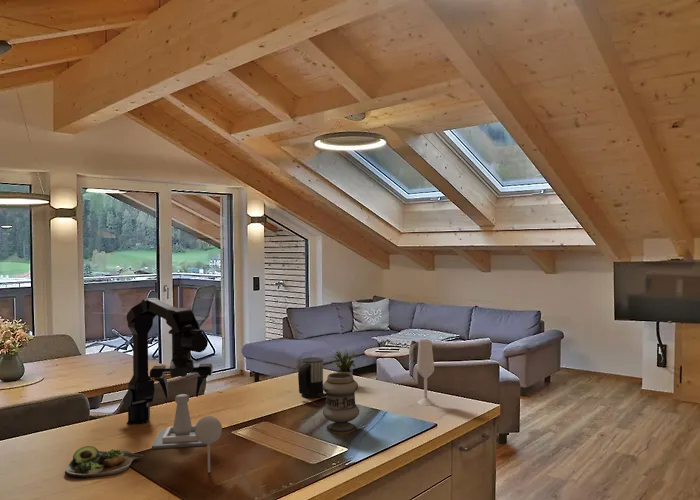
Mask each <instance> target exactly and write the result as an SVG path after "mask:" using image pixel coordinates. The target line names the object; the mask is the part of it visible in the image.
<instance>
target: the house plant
mask: <svg viewBox="0 0 700 500" xmlns="http://www.w3.org/2000/svg"><path fill="white" fill-rule="evenodd" d="M346 350H347V348H345V350H344V355H343V357H342V354H341V351H338V350H337V349H336V350H335V353H334V355H332V357H333V358H335V360H336V361H332V364H334V365H336V366H337V367H336V368H337V370H336V373H337V372H347V373H351V374H352V375H353V373H354V370H353V369H351V368H352V366H353V367H354V368H356V364H355V360H354V359H353V360H352V358H353V357H354V356H355V355H356V354H357V352H358V350H356V351H354V352H353V353H352V354H351V355H350V356H349V351H346ZM329 352H330V353H332V351H331V350H330V351H329Z"/></svg>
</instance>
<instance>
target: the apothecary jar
mask: <svg viewBox="0 0 700 500" xmlns="http://www.w3.org/2000/svg"><path fill="white" fill-rule="evenodd" d="M326 378H327V379H326V381H325V382H323V393H324V392H325V393H326V397H325V398H326V404H325V406H324V407H323V410H322V414H323V416H324V418H325V419H327V420H328V421H330V422H332V423H329V424H327V426H326V430H327V431H328V432H331V433H333V434H349V433H350V434H351V433H352V432H354V431H356V429H357V426H356V425H355V424H354V423H352V421H353V420H355V419H356V418H357V417H358V416H359V414H360V408H359V406H357V404H356V392H357V391H358V390H359V384H358V382H357V381H356V380H354V375H353V374H351V373H347V372H337V371H336V372H332V373H329V374H327V377H326Z"/></svg>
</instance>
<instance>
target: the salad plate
mask: <svg viewBox="0 0 700 500" xmlns="http://www.w3.org/2000/svg"><path fill="white" fill-rule="evenodd" d="M143 457H144V455H143V454H138V453H133V452H131V451H128V450H126V449H125V450H124V449H119V450H118V449H110V450H108V451H103V450H99V449H97V448H96V447H95V446H90V445H87V446H86V445H85V446H83V447H80V448H78V449H77V450H76V451H75V452H74V454H73V455H72V460H71V461H70V462H69V464H68V466H67V467H66V469H65V470H64V475H66V476H67V477H68V478H70V477H71V478H70V479H89V478H97V477H103V476H105V477H106V476H109V475H116V474H119V473H122V472H123V471H126V470H127V469H129V468H130V466H131V465H132V463H133V461H135V460H136V459H139V458H140V459H141V458H143ZM111 468H112V469H113V468H116V469H113V470H108V469H111ZM104 470H108V471H104ZM102 471H103V472H102Z"/></svg>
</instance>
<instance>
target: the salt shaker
mask: <svg viewBox="0 0 700 500" xmlns="http://www.w3.org/2000/svg"><path fill="white" fill-rule="evenodd" d="M189 401H190V396H189V394H186V393H181V394H177V395H176V396H175V398H174V402H175V403H176V408H175V414H174V415H175V416H174V421H173V426H172V427H173V431H174V433H175V435H176V436H182V435H189V434H190V431H191V429H192V425H193V424H192V422H191V421H192V420H191V416H190V409H189V406H188V403H189Z"/></svg>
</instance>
